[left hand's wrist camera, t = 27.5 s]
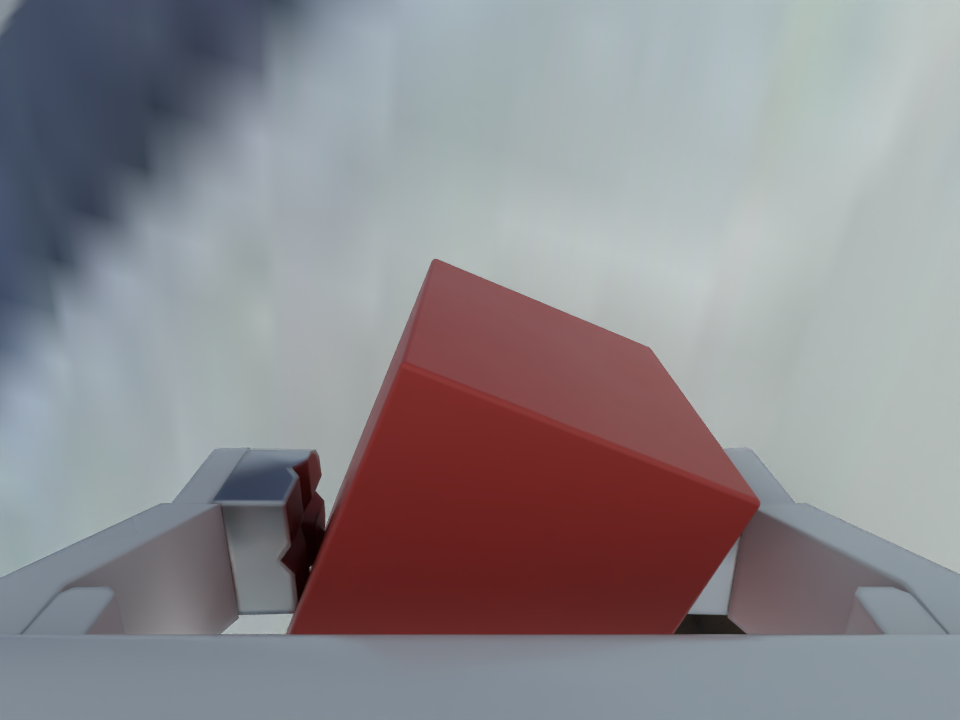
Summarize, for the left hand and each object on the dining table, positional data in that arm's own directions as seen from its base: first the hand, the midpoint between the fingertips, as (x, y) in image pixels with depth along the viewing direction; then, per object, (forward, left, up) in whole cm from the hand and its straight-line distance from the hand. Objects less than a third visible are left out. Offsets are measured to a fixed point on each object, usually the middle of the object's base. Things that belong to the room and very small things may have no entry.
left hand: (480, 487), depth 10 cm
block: (0, 0, -2) cm, 2 cm away
